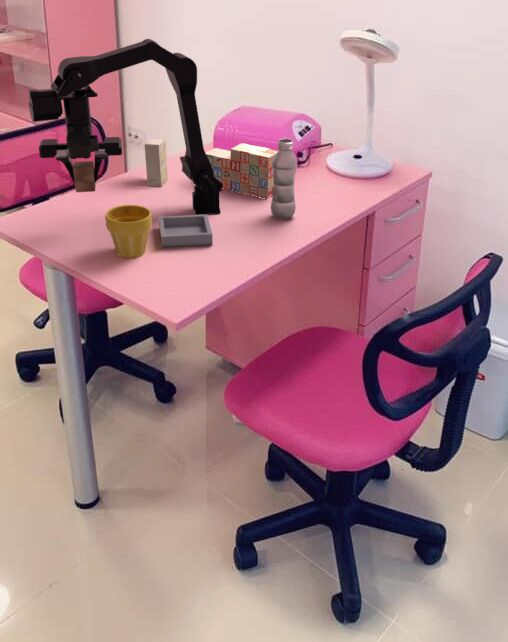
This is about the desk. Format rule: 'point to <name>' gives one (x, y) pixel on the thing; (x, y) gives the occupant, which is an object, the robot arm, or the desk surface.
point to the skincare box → (156, 162)
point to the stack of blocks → (244, 169)
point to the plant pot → (129, 229)
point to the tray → (185, 231)
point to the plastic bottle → (284, 180)
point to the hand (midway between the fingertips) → (85, 182)
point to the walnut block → (84, 176)
